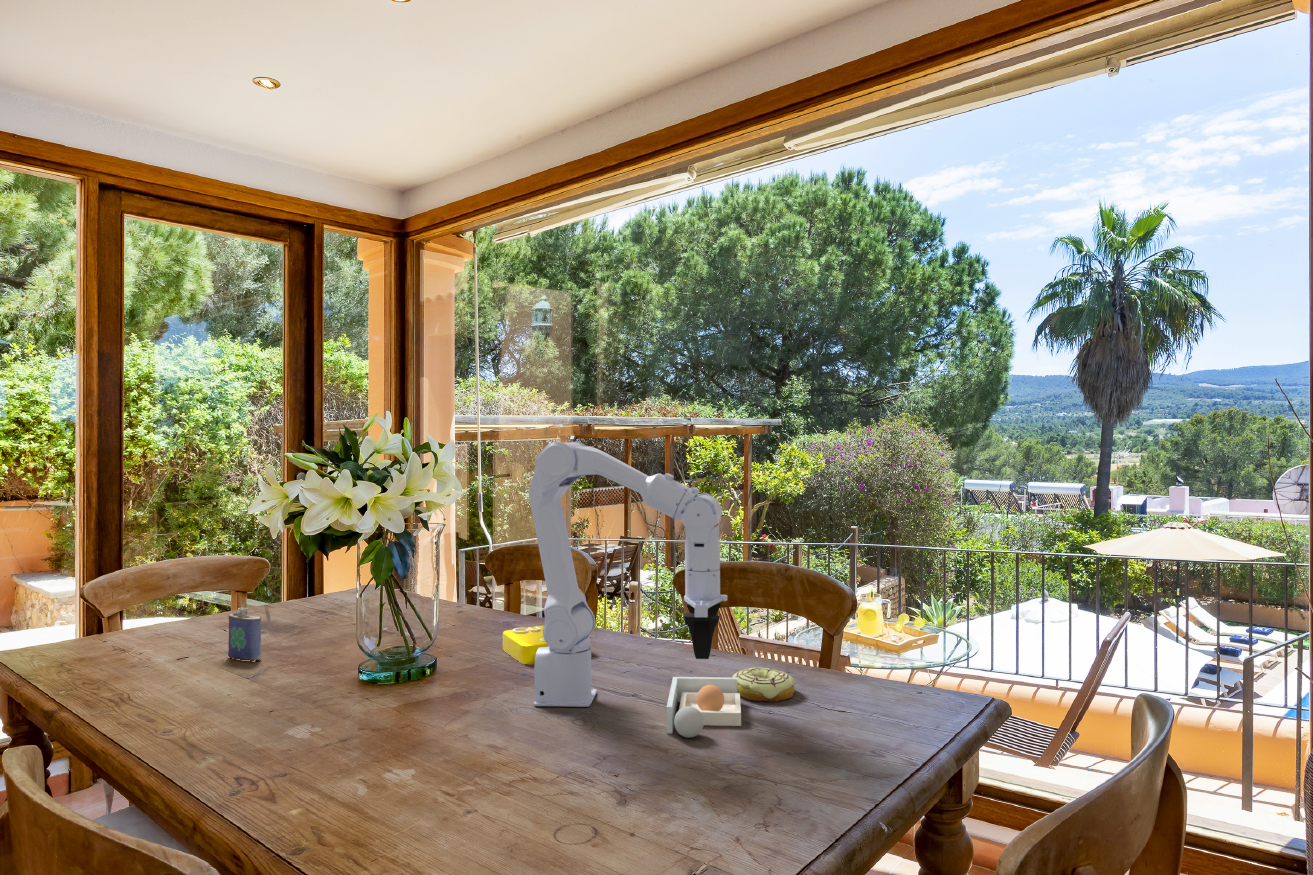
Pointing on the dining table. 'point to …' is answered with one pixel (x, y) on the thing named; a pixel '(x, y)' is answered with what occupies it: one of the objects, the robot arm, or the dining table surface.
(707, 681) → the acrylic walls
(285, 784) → the dining table surface
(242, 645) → the flask
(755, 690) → the decorated donut
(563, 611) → the robot arm
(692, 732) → the grey ball
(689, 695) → the ceramic dish
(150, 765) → the dining table surface
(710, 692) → the terracotta ball
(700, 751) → the dining table surface
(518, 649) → the element tile
